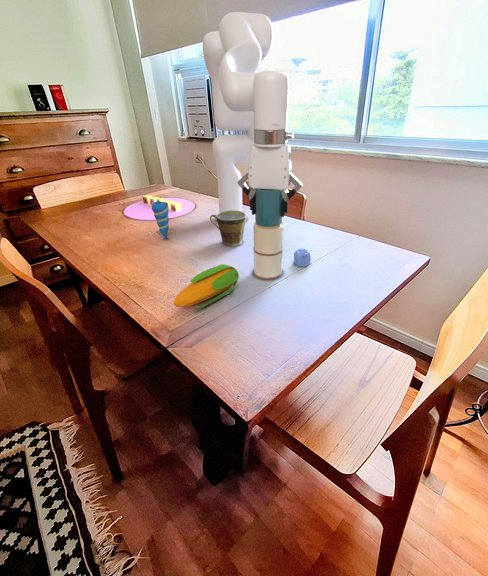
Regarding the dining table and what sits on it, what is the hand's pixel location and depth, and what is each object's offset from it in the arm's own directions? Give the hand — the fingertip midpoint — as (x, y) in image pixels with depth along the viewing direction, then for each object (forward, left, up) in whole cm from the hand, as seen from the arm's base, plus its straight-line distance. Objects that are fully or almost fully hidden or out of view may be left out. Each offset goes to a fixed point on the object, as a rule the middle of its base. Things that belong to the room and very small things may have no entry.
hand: (268, 213), depth 77 cm
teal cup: (0, 0, -2) cm, 2 cm away
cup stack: (0, 0, -18) cm, 18 cm away
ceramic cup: (-18, -18, -18) cm, 31 cm away
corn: (+17, -12, -18) cm, 27 cm away
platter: (-47, -61, -18) cm, 79 cm away
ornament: (-15, -41, -18) cm, 47 cm away
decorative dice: (-8, +9, -18) cm, 22 cm away
